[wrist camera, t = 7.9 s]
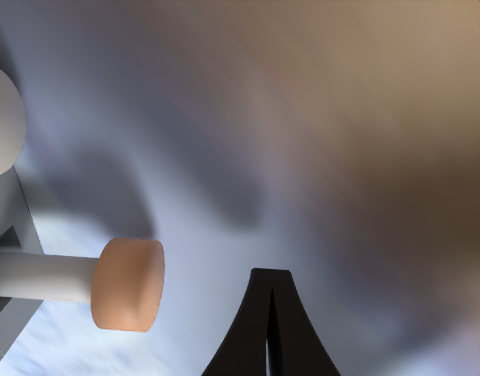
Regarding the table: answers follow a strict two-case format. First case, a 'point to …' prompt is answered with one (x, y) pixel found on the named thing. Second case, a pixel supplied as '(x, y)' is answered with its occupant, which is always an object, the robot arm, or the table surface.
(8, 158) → the knob ivory
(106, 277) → the knob rust
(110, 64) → the table surface
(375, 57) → the table surface
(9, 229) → the mount
